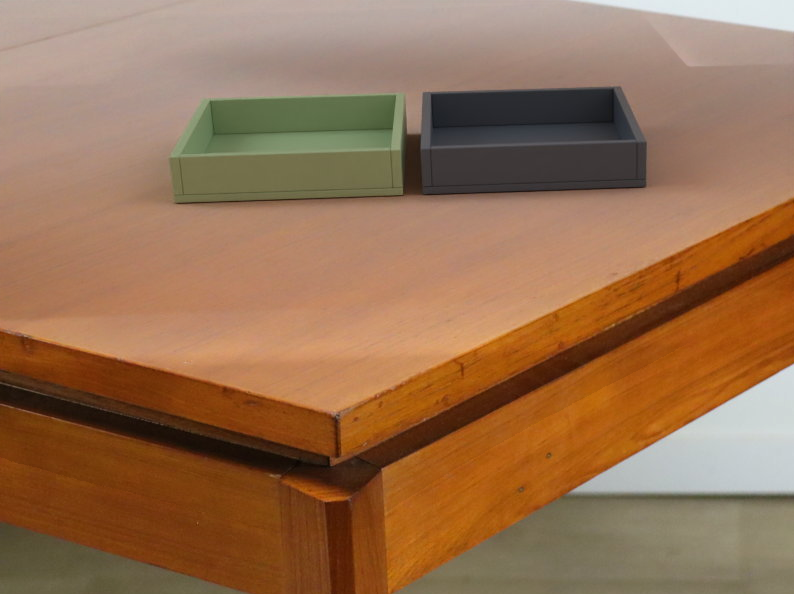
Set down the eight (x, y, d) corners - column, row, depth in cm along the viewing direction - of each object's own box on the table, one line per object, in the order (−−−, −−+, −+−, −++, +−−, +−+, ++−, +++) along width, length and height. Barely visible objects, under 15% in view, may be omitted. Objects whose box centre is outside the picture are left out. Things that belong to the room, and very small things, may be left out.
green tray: (174, 203, 76) (168, 157, 75) (207, 139, 87) (202, 98, 86) (403, 195, 77) (400, 149, 76) (407, 133, 88) (405, 92, 87)
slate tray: (422, 194, 77) (420, 148, 76) (424, 132, 88) (422, 91, 87) (646, 187, 78) (646, 141, 77) (620, 126, 89) (620, 85, 88)
